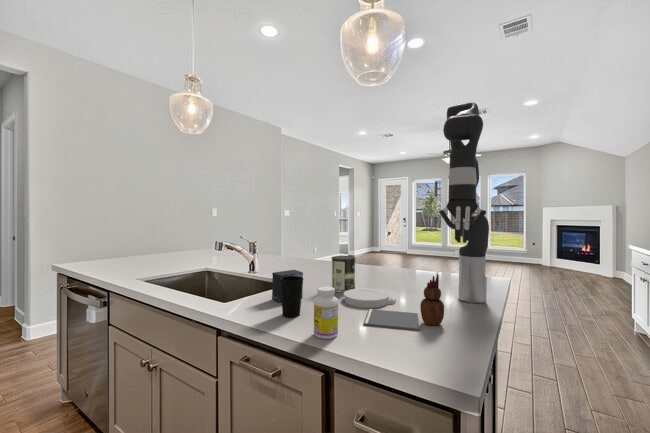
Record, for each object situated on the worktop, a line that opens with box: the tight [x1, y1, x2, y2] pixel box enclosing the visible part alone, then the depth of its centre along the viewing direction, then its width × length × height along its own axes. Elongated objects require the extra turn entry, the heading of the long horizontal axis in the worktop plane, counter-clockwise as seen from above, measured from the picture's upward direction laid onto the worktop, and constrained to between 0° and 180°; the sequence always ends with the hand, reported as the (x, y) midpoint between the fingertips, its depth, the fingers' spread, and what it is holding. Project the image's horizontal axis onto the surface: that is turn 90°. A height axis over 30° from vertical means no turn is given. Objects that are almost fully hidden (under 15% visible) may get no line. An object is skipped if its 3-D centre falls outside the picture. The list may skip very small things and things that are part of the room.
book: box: [362, 308, 420, 332], centre depth 97 cm, size 16×14×1 cm
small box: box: [271, 269, 304, 304], centre depth 120 cm, size 11×6×10 cm, turn 131°
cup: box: [280, 276, 304, 319], centre depth 101 cm, size 8×8×12 cm
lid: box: [343, 287, 397, 309], centre depth 118 cm, size 17×20×3 cm
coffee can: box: [331, 255, 356, 294], centre depth 134 cm, size 10×10×14 cm
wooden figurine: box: [419, 273, 445, 326], centre depth 94 cm, size 7×6×15 cm
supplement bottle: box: [313, 286, 339, 340], centre depth 85 cm, size 7×7×13 cm
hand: (461, 242), depth 92 cm, fingers closed
